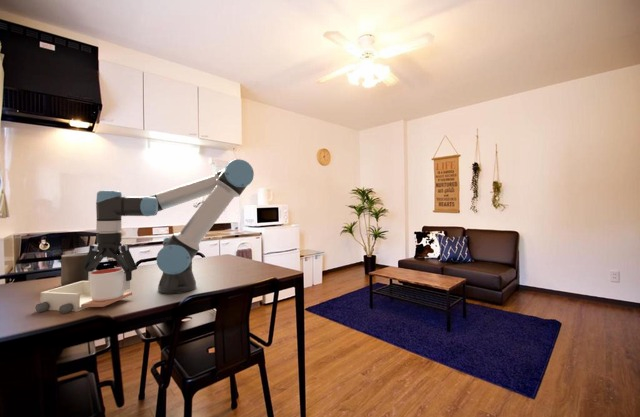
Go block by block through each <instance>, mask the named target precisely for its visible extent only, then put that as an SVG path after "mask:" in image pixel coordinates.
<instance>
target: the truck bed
mask: <svg viewBox="0 0 640 417" xmlns="http://www.w3.org/2000/svg"><path fill="white" fill-rule="evenodd" d="M89 301H92V298H91V289H89V284H88V281H80V282H76V283H73V284H69V285H66V286H59V287H56V288H55V287H54V288H51V289H48V290H43V291H41V292H40V302H39V303H37V304H36V305H35V311H36V312H37V313H43V312H46V311H58V312H59V313H60V314H61V315H66V314H68V313H71V312H79V311H82V310H85V309H87V308H89V307H82V306H81V305H82V304H84V303H86V302H89Z"/></svg>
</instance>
